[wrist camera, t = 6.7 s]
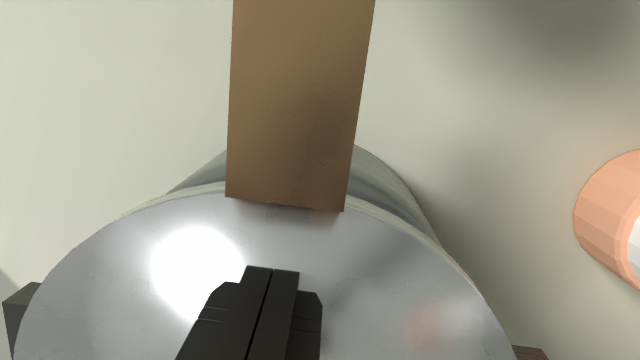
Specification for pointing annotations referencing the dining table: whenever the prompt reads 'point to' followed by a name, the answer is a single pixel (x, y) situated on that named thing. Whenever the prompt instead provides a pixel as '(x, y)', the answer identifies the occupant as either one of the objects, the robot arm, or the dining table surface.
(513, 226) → the dining table surface
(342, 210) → the cooker lid
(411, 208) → the cooker pot
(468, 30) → the dining table surface
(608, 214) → the pepper shaker
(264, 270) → the robot arm
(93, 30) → the dining table surface
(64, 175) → the dining table surface
